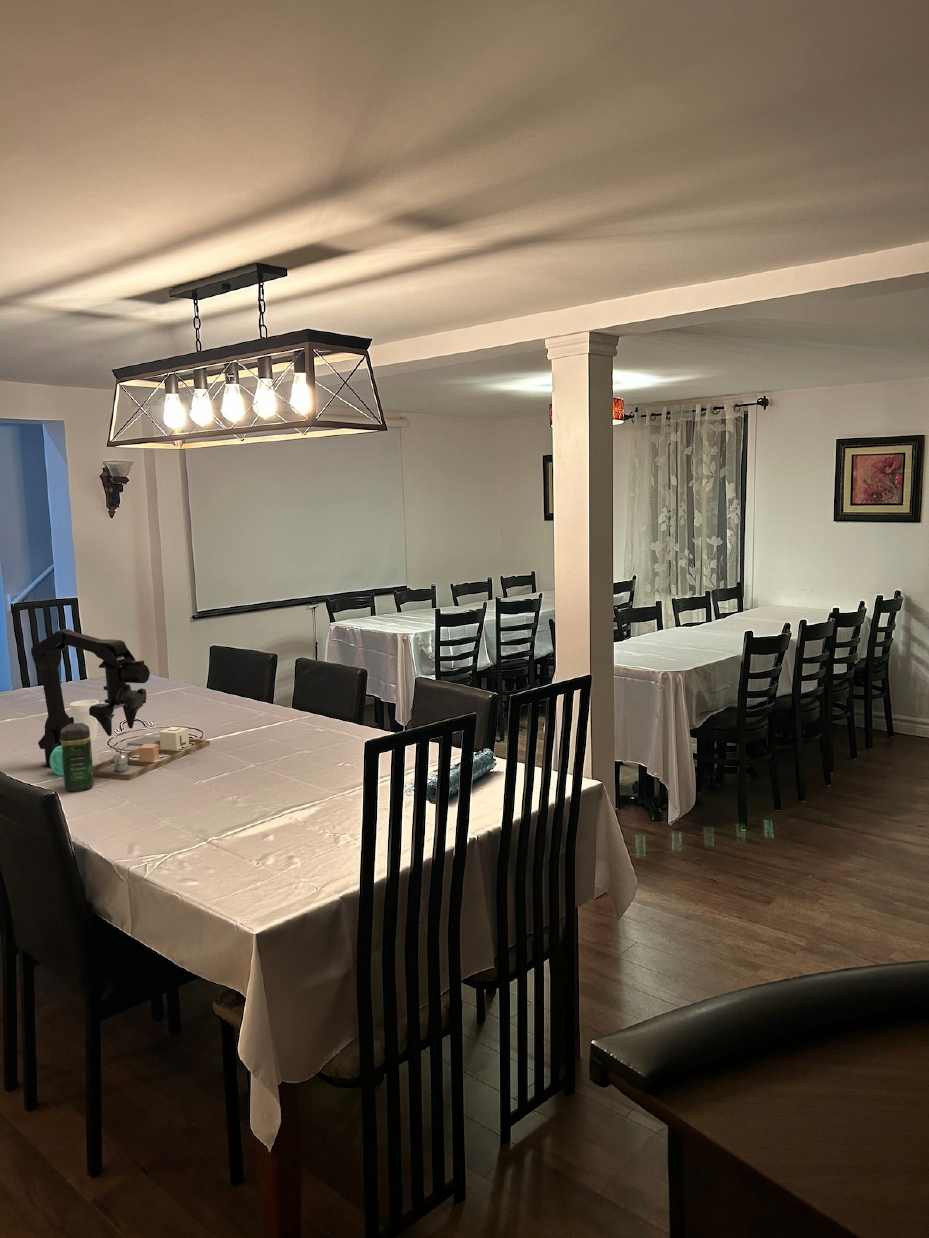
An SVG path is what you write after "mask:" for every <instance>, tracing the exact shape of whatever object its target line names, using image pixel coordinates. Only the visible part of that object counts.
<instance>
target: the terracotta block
mask: <svg viewBox="0 0 929 1238" xmlns="http://www.w3.org/2000/svg"><path fill="white" fill-rule="evenodd" d="M138 748H139V755H138V756H139V760H142V761H153V762H156V760H158V757H159V758H160V754H159V752H158V749H159V746H158V744H144V745H142V746H139V747H138Z"/></svg>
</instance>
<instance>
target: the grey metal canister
mask: <svg viewBox="0 0 929 1238" xmlns="http://www.w3.org/2000/svg"><path fill="white" fill-rule="evenodd" d="M125 753H126V752H125ZM125 753H123V752H122V753H117V754H114V755H113V757H112V758H114V764H113V767H114V768H113V769H114V773H123V774H125V773H126V772H129V765H128V759H129V758H128V757H127V754H125Z"/></svg>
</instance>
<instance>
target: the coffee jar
mask: <svg viewBox="0 0 929 1238" xmlns="http://www.w3.org/2000/svg"><path fill="white" fill-rule="evenodd" d="M60 735H61V748H62V760H63V771H64V776H63V785H64V790H65V791H68V792H69V791H71V792H81V791H84V790H88V789H91V788H92V787H93V785H94V776H93V766H94V765H93V754H92V742H91V741H92V740H91V739H90V730H89V726H87V725H85V724H83V723H74V724H68V725H67V726H66V727H64V728H63V729H62V730H61V733H60Z"/></svg>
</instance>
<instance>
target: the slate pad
mask: <svg viewBox="0 0 929 1238" xmlns="http://www.w3.org/2000/svg"><path fill="white" fill-rule="evenodd" d="M158 740H160V736H150V735H148V736H147V735H144V736H141V737H139V738H136V739H135V740H132V741H131V740H130V741H129V742H128V741H127V744H126V745H129V746H139V747H141V746H142V745H144V744H150V743H153V742H155V741H158Z"/></svg>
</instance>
